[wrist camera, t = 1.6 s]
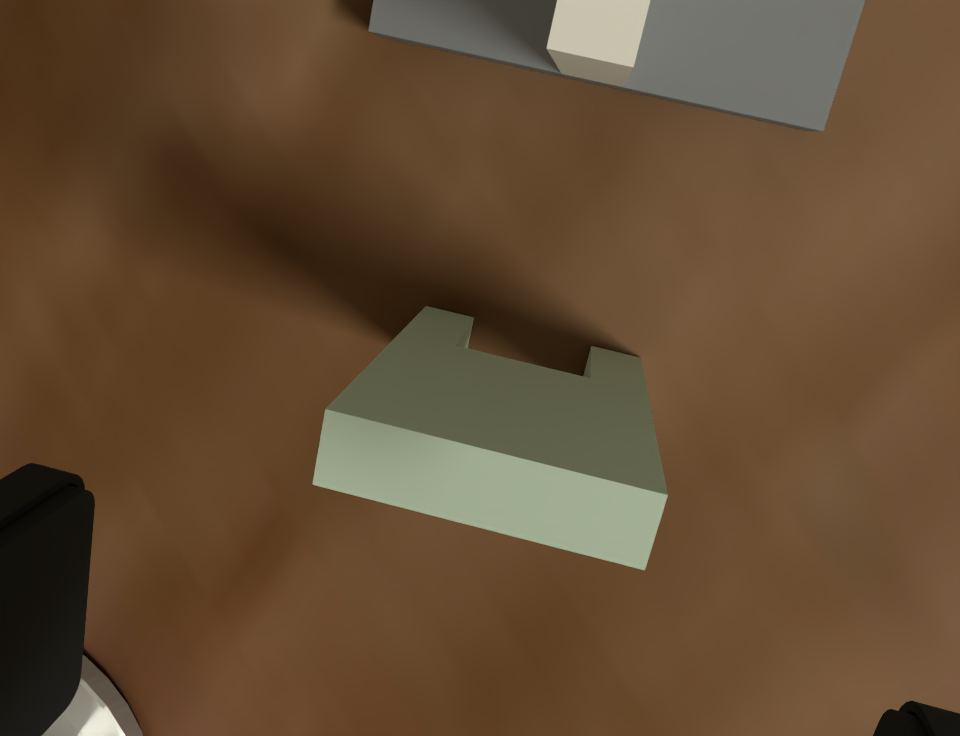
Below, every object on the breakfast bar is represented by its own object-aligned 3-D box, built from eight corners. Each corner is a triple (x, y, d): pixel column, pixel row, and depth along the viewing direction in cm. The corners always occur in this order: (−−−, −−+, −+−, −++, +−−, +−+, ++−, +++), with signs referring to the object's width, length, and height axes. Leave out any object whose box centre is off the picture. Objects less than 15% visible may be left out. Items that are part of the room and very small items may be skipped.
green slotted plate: (640, 357, 25) (667, 495, 16) (626, 407, 26) (644, 570, 16) (425, 306, 26) (325, 409, 16) (416, 355, 26) (312, 484, 17)
